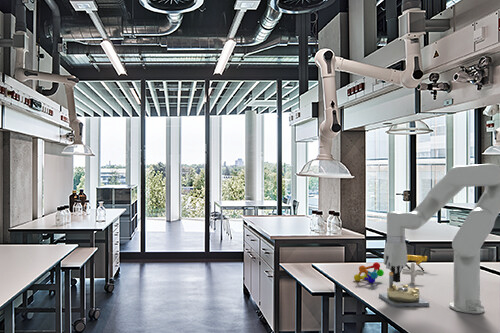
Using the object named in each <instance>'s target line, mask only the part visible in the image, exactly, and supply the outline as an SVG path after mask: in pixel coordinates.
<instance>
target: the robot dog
mask: <svg viewBox="0 0 500 333" xmlns="http://www.w3.org/2000/svg"><path fill="white" fill-rule="evenodd" d="M427 250H428V251H430V252H432V253H436V252H437V251H436V250H433V249H431V248H428V247H427V246H426V247H425V248H424V250H423V251H422V254H421V255H417V254H416V255H413V254H407V264H406V267H405V268H408V271H409V270H411V266H409V265H408V262H409V261H412V262H414V263H415V266H418V268H420V270H421V271H422V272H425V269H424V267H422V266H421V265H420V264H421V263H422V262H427V260H428V256H427V255H425V253H426V251H427ZM423 269H424V270H423Z"/></svg>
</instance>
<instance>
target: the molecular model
mask: <svg viewBox="0 0 500 333" xmlns="http://www.w3.org/2000/svg"><path fill="white" fill-rule="evenodd" d="M380 268H381V264H380V263H379V262H377V261H376V262H374V263H373V264H372V265H369V266H365V265H359V267H358V271H359V272H358V273H357V274H355V275H354V276H353V280H354V281H356V282H359V281H361V280H362V281H363V280H364V281H368V282H369V283H370V284H373V283H375V282H376V279H378V277H383V276H384V274H385V272H384V270H383V269H380ZM370 269H373V271H372V272H371V271H370ZM361 274H363V275H361Z"/></svg>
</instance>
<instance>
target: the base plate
mask: <svg viewBox="0 0 500 333" xmlns="http://www.w3.org/2000/svg"><path fill="white" fill-rule="evenodd" d="M378 298H380V299H381V300H382V301H384V302H386V303H387V302H388V303H387V304H389V305H390V306H392V307H393V306H394V307H393V308H407V307H406V306H429V307H430V302H428V301H427V300H425V299H423V298H421V297H420V299H419V300H418V301H415V302H404V301H397V300H393V299H390V298H389V297H387V293H378ZM404 306H405V307H404Z"/></svg>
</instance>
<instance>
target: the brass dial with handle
mask: <svg viewBox="0 0 500 333" xmlns="http://www.w3.org/2000/svg"><path fill="white" fill-rule="evenodd" d="M388 280H389V281H388V282H389V284H388V287H387V290H386V291H387V292H386V294H387V297H389V298H390V299H393V300H397V301H404V302H415V301H418V300H419V299H420V298H421V296H420V295H421V294H420V288H419V287H413V288H412V287H410V286H409V285H408V284H402V286H397V285H395V284H394V282H393V272H391V271H389V273H388Z"/></svg>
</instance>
